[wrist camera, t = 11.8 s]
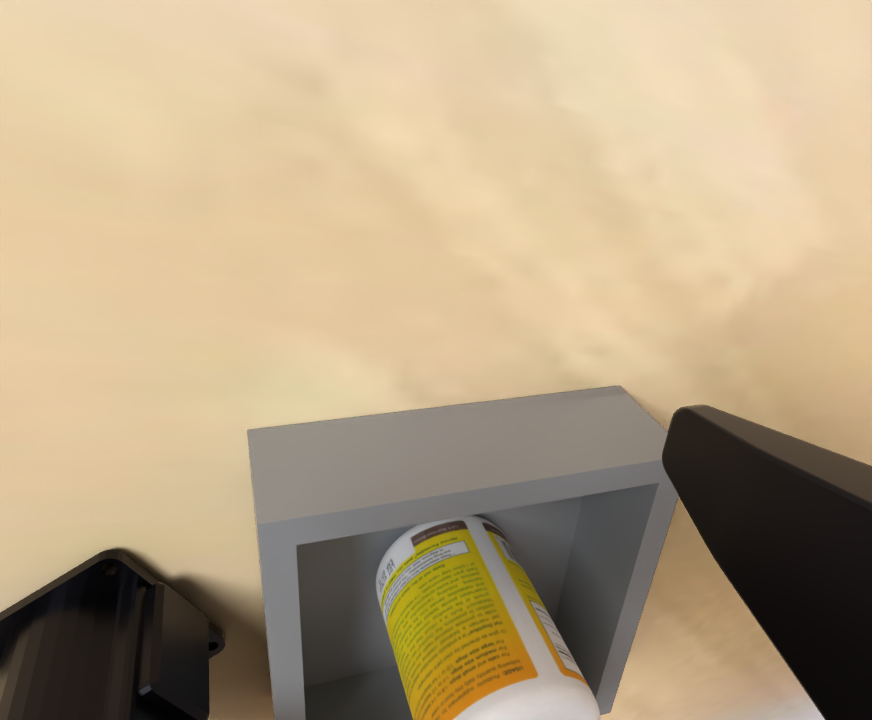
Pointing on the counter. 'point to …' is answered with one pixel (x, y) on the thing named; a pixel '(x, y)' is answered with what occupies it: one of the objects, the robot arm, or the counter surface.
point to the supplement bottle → (474, 629)
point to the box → (445, 499)
